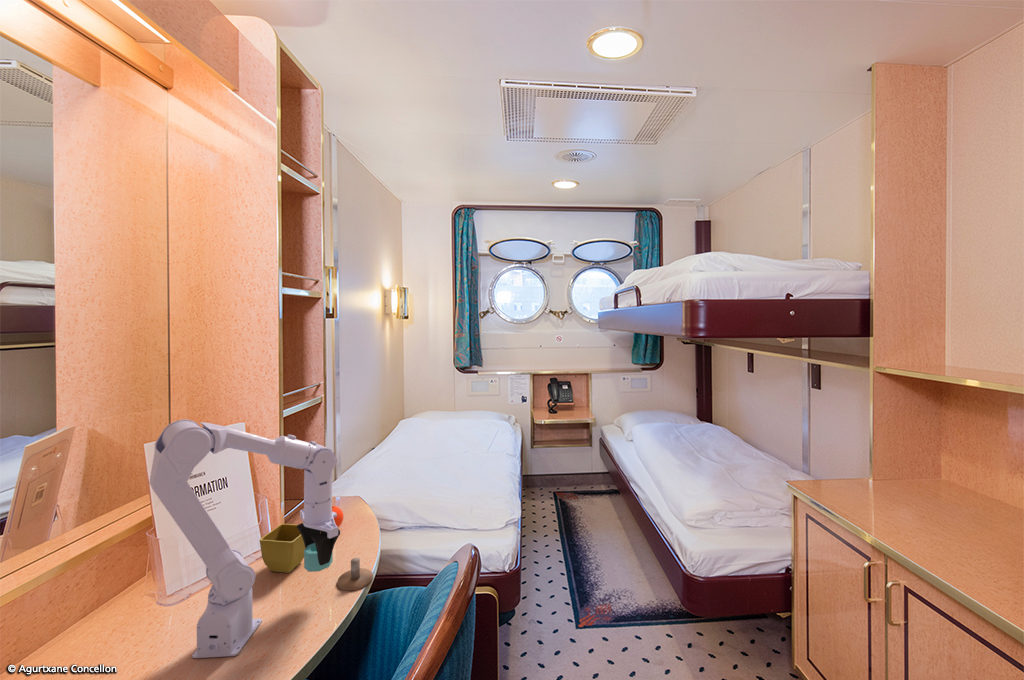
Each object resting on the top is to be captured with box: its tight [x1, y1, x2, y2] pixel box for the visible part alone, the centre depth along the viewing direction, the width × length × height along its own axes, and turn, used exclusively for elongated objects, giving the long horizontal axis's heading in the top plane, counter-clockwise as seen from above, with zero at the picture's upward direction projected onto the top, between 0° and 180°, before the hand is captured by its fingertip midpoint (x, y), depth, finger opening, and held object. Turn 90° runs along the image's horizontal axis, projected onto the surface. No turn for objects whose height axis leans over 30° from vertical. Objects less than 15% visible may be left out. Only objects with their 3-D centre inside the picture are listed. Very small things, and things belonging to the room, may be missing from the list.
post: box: [337, 557, 374, 592], centre depth 101 cm, size 8×8×5 cm
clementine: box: [332, 505, 344, 528], centre depth 126 cm, size 8×7×7 cm
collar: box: [303, 543, 334, 573], centre depth 95 cm, size 5×5×4 cm
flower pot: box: [259, 523, 305, 573], centre depth 106 cm, size 9×9×9 cm
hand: (318, 558), depth 95 cm, fingers closed on collar, 5 cm apart
